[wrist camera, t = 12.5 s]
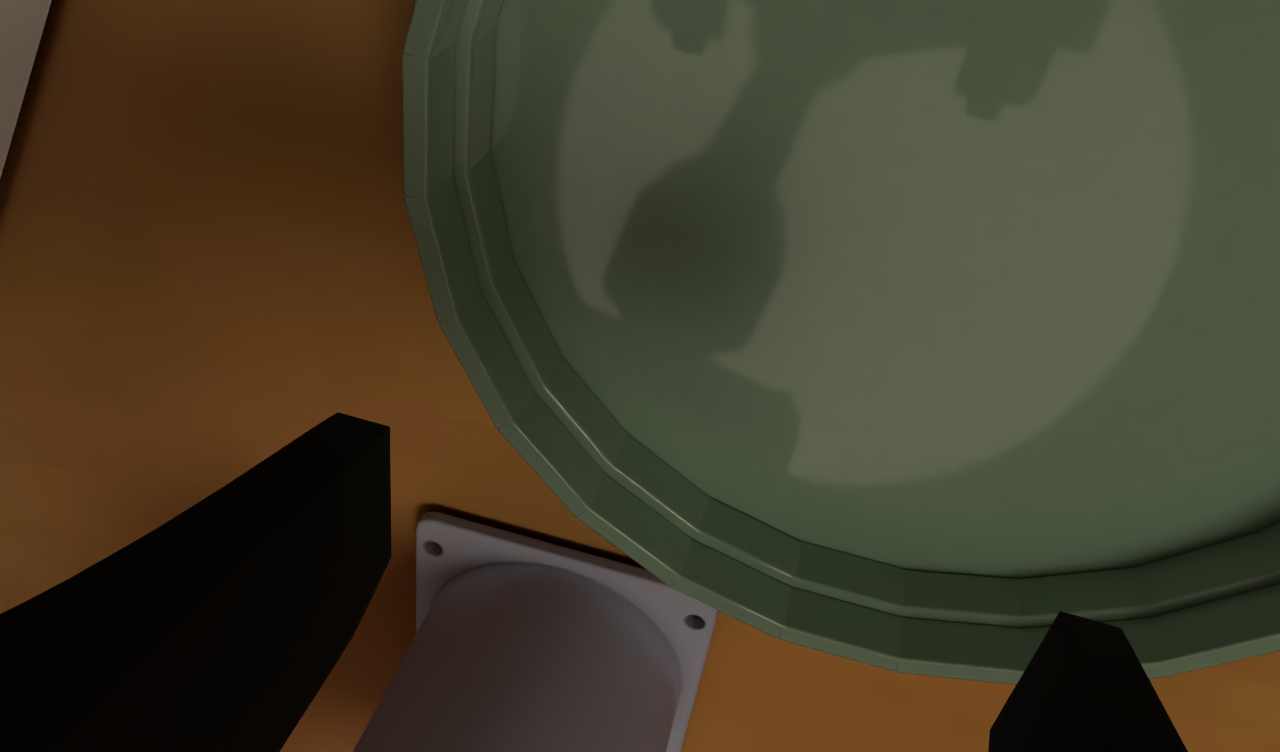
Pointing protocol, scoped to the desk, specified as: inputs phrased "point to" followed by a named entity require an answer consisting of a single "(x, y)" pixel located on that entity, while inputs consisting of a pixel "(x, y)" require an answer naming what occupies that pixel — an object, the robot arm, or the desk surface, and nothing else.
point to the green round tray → (879, 305)
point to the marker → (17, 60)
